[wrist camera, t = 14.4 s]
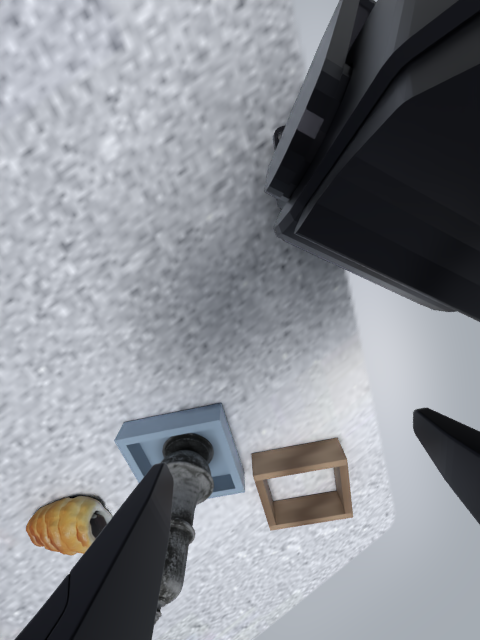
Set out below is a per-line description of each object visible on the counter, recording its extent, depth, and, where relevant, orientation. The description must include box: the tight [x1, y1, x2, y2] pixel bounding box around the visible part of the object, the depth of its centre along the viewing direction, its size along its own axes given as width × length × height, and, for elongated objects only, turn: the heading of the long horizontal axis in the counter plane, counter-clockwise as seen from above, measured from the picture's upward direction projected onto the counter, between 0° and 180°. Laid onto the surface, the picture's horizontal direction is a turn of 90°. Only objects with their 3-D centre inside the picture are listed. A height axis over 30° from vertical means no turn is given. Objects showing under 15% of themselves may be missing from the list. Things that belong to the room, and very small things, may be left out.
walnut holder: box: [252, 438, 353, 531], centre depth 28 cm, size 9×9×2 cm
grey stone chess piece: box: [154, 433, 214, 624], centre depth 21 cm, size 6×6×12 cm
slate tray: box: [114, 403, 245, 499], centre depth 26 cm, size 10×10×2 cm
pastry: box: [26, 496, 112, 555], centre depth 29 cm, size 9×7×4 cm
